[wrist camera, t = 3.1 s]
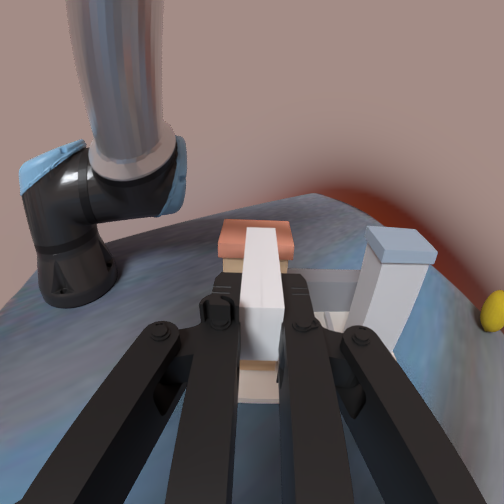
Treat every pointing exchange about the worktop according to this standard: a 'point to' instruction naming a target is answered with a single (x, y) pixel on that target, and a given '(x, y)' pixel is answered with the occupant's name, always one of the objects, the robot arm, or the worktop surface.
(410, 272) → the grey tall block
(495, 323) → the lemon
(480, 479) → the worktop surface
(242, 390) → the switch base
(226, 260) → the beige wooden tall block
